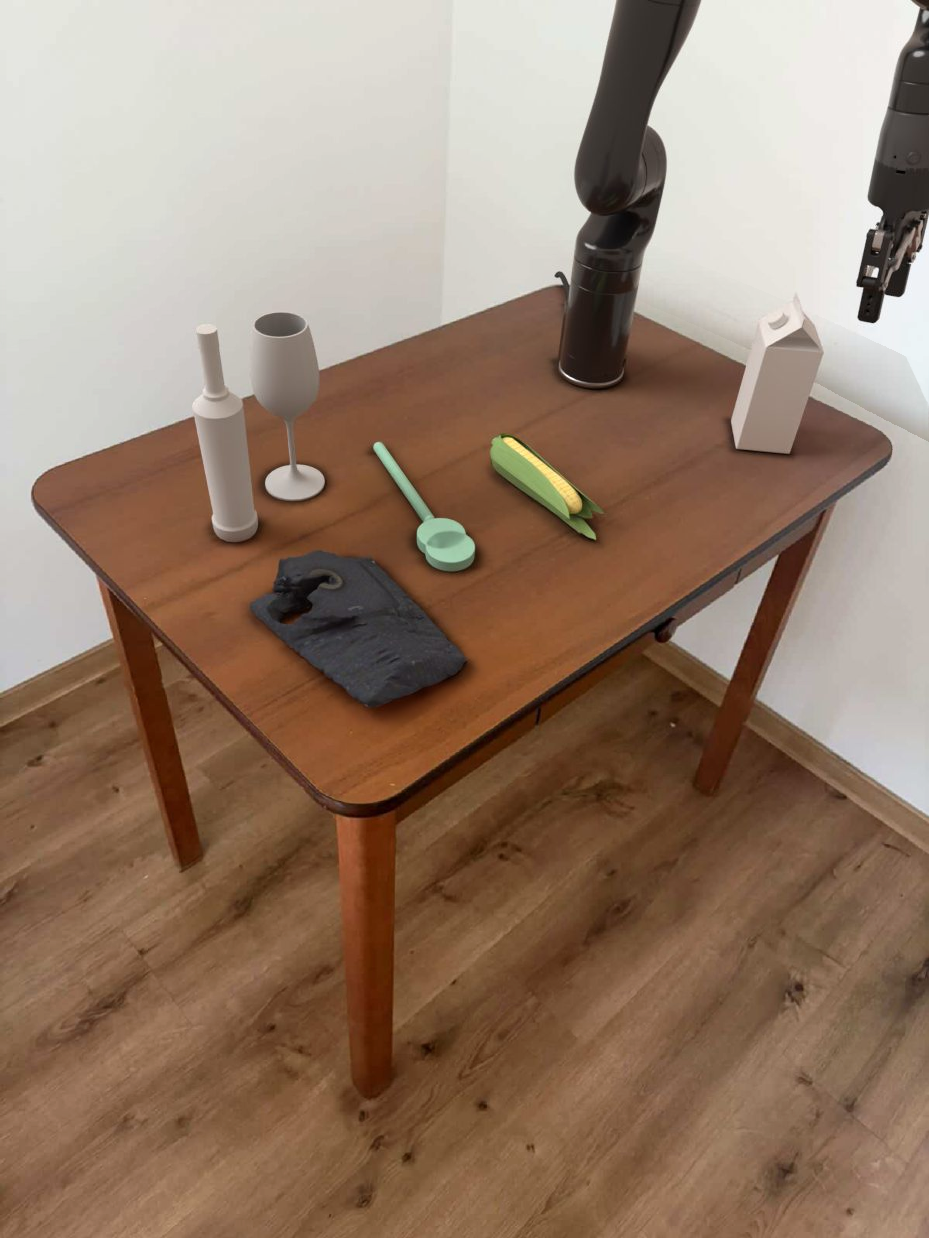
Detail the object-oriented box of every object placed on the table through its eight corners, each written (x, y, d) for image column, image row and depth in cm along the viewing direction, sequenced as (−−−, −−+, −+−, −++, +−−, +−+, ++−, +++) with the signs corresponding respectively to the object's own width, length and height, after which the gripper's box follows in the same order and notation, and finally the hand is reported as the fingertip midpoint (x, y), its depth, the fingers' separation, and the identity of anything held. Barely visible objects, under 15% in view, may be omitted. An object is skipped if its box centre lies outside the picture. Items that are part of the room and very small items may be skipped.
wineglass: (300, 457, 122) (287, 301, 107) (338, 485, 118) (330, 327, 104) (251, 481, 118) (230, 322, 103) (289, 510, 114) (272, 349, 100)
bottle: (221, 548, 109) (187, 346, 91) (207, 522, 112) (172, 322, 95) (265, 536, 111) (240, 336, 93) (250, 511, 114) (224, 312, 96)
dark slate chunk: (351, 737, 90) (349, 704, 87) (240, 604, 102) (235, 570, 99) (480, 669, 97) (483, 636, 94) (362, 552, 109) (361, 519, 106)
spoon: (356, 453, 123) (356, 444, 122) (397, 444, 125) (397, 435, 124) (437, 576, 107) (437, 567, 106) (482, 564, 109) (483, 555, 108)
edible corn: (509, 452, 125) (512, 422, 122) (612, 535, 114) (618, 504, 111) (477, 464, 123) (479, 434, 120) (579, 550, 111) (584, 519, 108)
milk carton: (782, 426, 133) (824, 295, 119) (789, 455, 128) (834, 322, 114) (730, 421, 133) (766, 289, 120) (735, 450, 128) (774, 316, 115)
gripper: (899, 135, 106) (869, 282, 116) (853, 168, 97) (824, 323, 107) (972, 142, 102) (934, 293, 112) (930, 177, 93) (893, 337, 104)
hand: (880, 308), depth 110 cm, fingers open, 8 cm apart
